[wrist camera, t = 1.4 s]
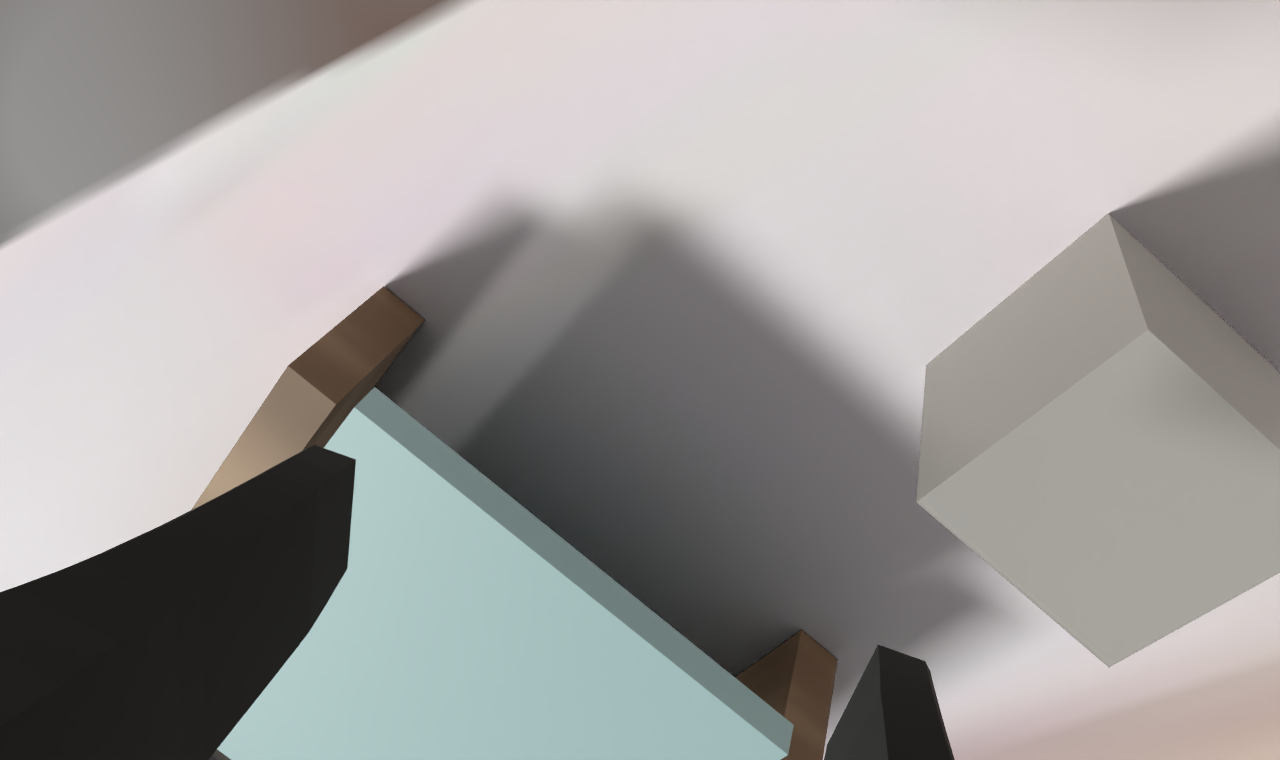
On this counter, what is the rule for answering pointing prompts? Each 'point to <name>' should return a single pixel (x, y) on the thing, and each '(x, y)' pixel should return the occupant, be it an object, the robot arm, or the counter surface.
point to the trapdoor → (485, 636)
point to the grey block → (1107, 447)
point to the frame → (350, 369)
